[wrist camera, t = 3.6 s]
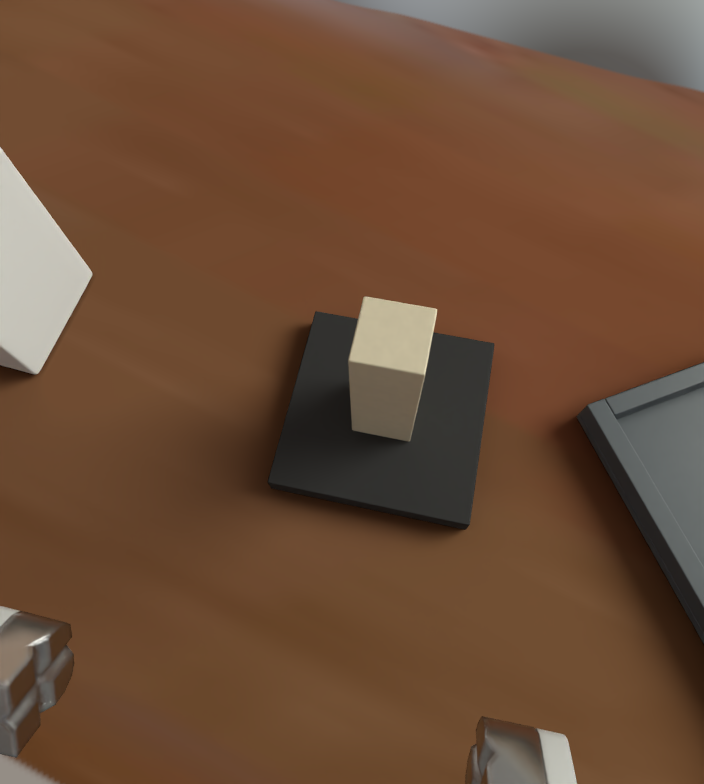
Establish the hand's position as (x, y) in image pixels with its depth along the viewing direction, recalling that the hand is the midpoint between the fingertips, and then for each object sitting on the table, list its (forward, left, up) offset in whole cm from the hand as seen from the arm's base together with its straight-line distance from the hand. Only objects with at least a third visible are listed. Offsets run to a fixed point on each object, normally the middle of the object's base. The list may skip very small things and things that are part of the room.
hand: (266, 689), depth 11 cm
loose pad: (+7, +10, -17) cm, 21 cm away
